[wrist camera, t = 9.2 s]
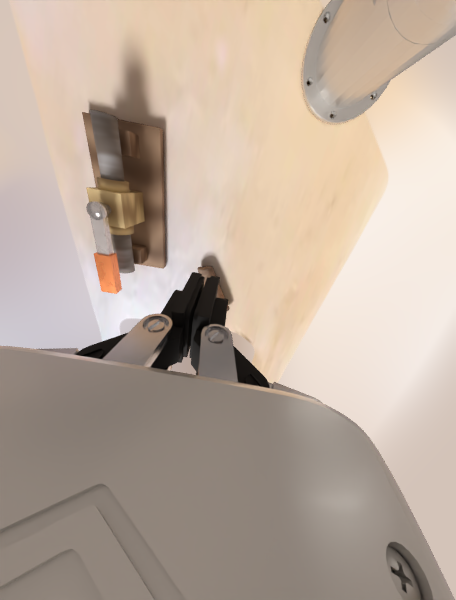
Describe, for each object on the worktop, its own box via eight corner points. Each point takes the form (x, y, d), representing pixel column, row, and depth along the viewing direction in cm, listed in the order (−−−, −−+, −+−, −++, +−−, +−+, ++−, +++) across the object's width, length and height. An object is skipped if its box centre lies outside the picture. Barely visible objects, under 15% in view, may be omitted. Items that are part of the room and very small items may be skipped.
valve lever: (109, 203, 27) (101, 204, 26) (121, 289, 35) (116, 293, 33) (91, 199, 27) (82, 200, 26) (107, 286, 35) (101, 291, 33)
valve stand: (88, 115, 30) (25, 84, 21) (163, 130, 30) (132, 107, 21) (113, 257, 42) (80, 276, 34) (165, 266, 43) (146, 287, 34)
